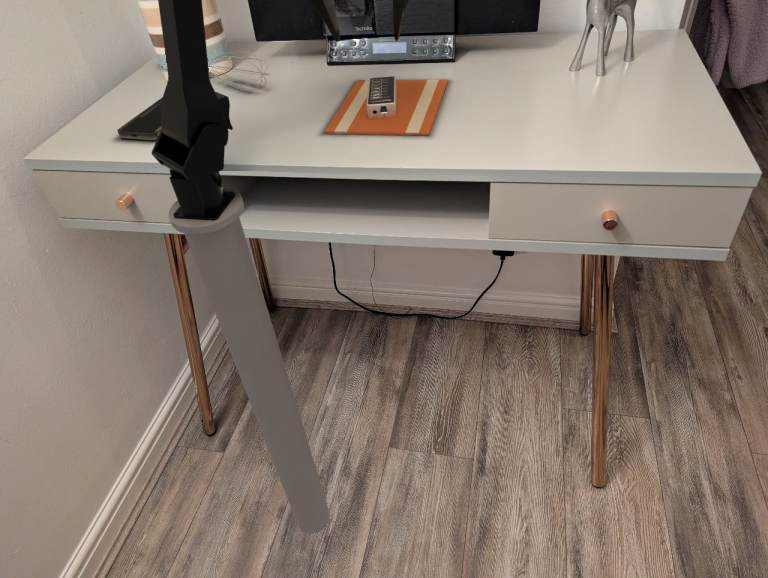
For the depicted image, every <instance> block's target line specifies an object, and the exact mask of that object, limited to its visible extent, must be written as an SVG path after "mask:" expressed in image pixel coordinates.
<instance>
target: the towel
mask: <svg viewBox="0 0 768 578" xmlns="http://www.w3.org/2000/svg"><path fill="white" fill-rule="evenodd" d="M448 82H449V80H448V79H443V78H442V79H439V78H437V79H436V78H435V79H431V78H429V79H428V78H427V79H396V89H397V114H396V117H393V118H381V119H368V112H367V96H368V86H369V79H357V80H356V82H355V84H354V85H353V87H352V88H351V90H350V91H349V92H348V94H347V96H346V97H345V99H344V101H343V102H342V104H341V105H340V107H339V109H337V111H336V113H335V115H334V116H333V118H332V119H331V121H330V123H328V126H327V127H326V129H325V130H324V134H326V135H327V134H329V135H377V136H378V135H379V136H384V135H385V136H386V135H387V136H388V135H389V136H430V133H431V131H432V127H433V124H434V122H435V119H436V116H437V113H438V110H439V108H440V105H441V103H442V99H443V97H444V93H445V91H446V88H447V85H448Z"/></svg>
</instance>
